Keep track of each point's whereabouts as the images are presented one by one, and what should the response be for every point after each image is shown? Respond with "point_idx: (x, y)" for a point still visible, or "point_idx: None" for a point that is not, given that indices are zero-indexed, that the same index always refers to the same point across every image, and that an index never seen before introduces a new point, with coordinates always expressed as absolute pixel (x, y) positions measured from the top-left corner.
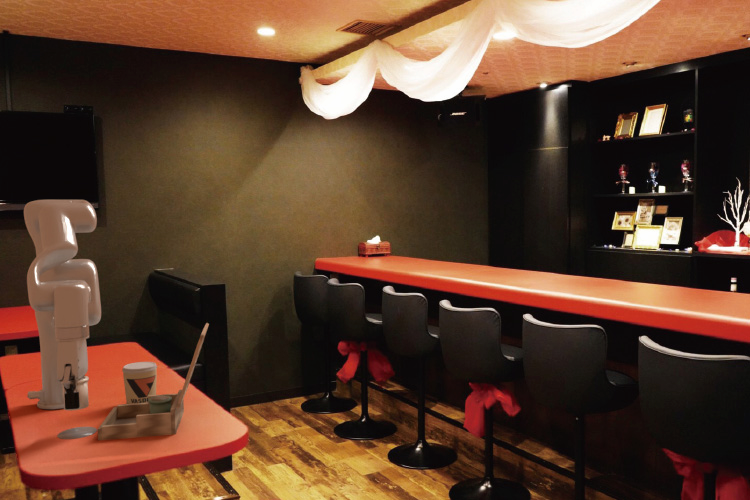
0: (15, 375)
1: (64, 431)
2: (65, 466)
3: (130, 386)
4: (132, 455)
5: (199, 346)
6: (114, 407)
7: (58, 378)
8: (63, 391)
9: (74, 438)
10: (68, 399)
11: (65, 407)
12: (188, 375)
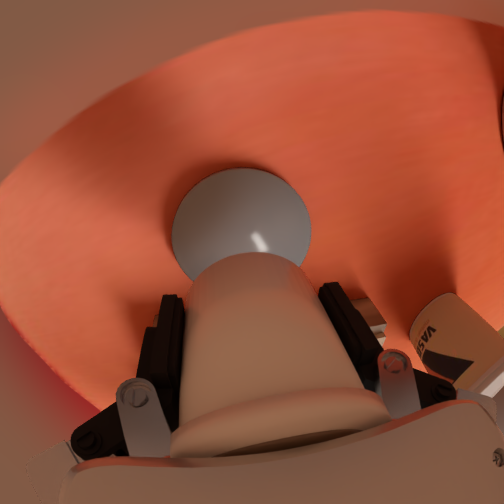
0: None
1: (272, 185)
2: (16, 279)
3: (452, 357)
4: (91, 379)
5: None
6: (381, 326)
7: (61, 489)
8: (212, 355)
9: (176, 250)
10: (143, 359)
11: (163, 300)
12: None
